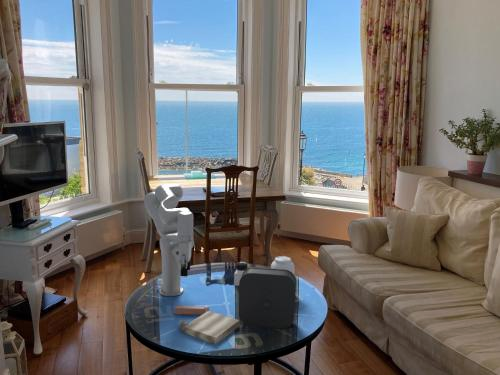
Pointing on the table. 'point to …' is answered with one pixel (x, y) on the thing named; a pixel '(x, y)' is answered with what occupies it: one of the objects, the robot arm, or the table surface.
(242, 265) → the box camera
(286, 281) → the speaker
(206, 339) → the stool seat
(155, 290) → the table surface
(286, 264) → the white ribbed vase
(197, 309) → the folding leg
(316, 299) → the table surface
